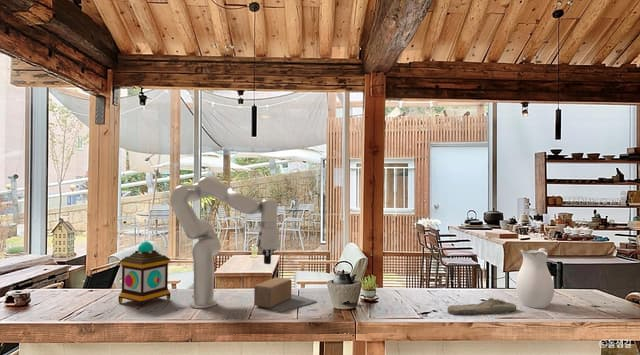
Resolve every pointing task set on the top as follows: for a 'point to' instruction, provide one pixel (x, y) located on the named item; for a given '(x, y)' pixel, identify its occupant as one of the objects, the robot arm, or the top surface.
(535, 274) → the pitcher
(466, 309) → the long grey stone
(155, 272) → the decorative lantern
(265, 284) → the wooden block
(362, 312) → the top surface
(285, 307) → the mat
